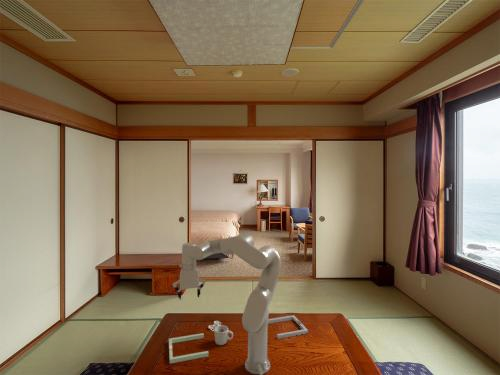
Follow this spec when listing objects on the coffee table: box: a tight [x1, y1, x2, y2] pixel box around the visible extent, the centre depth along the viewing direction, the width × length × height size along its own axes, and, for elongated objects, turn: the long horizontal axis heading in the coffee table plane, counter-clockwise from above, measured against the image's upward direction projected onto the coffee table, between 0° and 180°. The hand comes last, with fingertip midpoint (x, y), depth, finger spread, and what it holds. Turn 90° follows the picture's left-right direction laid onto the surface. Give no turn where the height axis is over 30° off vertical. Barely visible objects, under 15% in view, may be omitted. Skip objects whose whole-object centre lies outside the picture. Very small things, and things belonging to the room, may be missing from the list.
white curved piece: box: [207, 320, 222, 332], centre depth 173 cm, size 9×8×4 cm
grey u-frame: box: [268, 315, 309, 340], centre depth 173 cm, size 19×20×3 cm
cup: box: [213, 324, 234, 346], centre depth 157 cm, size 11×8×8 cm
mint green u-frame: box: [168, 332, 209, 364], centre depth 151 cm, size 19×20×3 cm
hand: (189, 297), depth 151 cm, fingers open, 9 cm apart
